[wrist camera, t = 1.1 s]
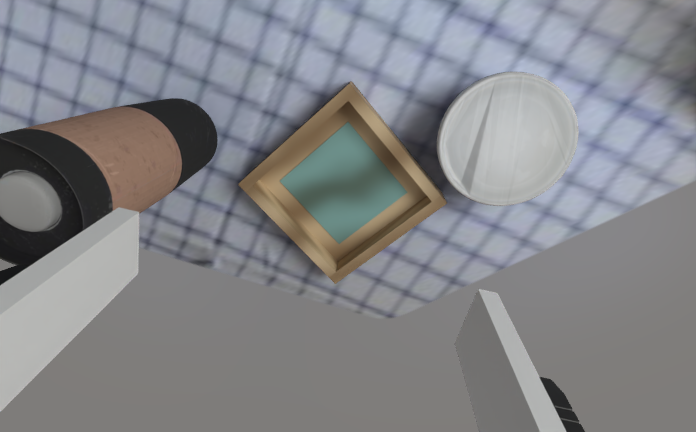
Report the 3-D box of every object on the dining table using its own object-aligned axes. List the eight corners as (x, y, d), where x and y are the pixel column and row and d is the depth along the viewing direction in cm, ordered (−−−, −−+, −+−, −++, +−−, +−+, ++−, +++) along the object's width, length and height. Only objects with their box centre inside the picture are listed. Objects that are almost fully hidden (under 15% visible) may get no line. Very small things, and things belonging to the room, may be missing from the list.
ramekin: (412, 102, 37) (418, 109, 32) (533, 46, 35) (558, 45, 30) (453, 205, 41) (464, 225, 36) (565, 160, 38) (593, 176, 34)
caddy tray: (247, 175, 41) (237, 184, 38) (351, 81, 37) (349, 83, 34) (337, 269, 44) (335, 283, 42) (442, 192, 40) (447, 203, 37)
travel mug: (202, 186, 42) (65, 293, 23) (133, 147, 40) (-69, 228, 22) (233, 122, 39) (105, 185, 20) (160, 79, 38) (-46, 105, 19)
